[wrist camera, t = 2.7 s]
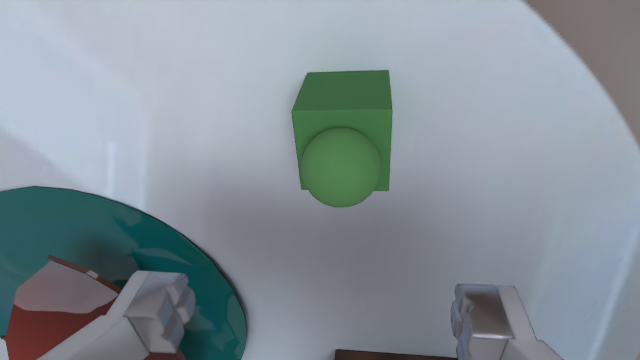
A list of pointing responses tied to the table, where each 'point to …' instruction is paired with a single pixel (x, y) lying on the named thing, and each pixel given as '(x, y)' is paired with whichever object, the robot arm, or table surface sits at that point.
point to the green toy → (343, 135)
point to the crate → (380, 356)
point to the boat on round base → (99, 273)
